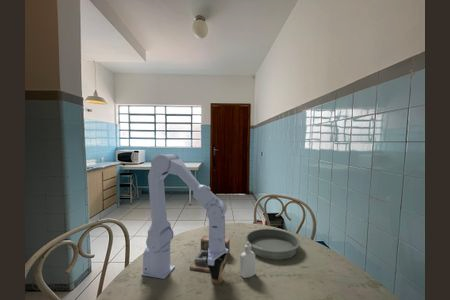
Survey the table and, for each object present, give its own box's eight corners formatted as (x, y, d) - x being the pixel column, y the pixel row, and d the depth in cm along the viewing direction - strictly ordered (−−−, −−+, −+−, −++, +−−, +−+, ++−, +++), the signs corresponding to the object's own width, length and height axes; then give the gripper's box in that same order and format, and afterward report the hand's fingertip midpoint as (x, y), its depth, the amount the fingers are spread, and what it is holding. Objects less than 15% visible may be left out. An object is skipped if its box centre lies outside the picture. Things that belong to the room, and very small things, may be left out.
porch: (189, 269, 81) (189, 252, 81) (203, 249, 96) (203, 235, 96) (219, 273, 78) (219, 256, 78) (229, 253, 94) (229, 238, 93)
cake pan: (254, 233, 115) (254, 225, 115) (302, 242, 105) (302, 233, 105) (237, 254, 93) (237, 243, 93) (296, 268, 82) (296, 256, 82)
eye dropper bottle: (239, 271, 80) (239, 239, 80) (254, 271, 80) (254, 239, 80) (240, 278, 75) (240, 244, 75) (256, 278, 75) (256, 244, 75)
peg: (209, 283, 73) (209, 262, 73) (213, 276, 77) (213, 257, 76) (220, 285, 72) (221, 264, 72) (223, 277, 76) (223, 258, 76)
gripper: (222, 247, 66) (222, 290, 66) (232, 229, 80) (232, 265, 80) (201, 244, 68) (201, 286, 68) (214, 227, 82) (214, 262, 82)
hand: (216, 275), depth 74 cm, fingers closed on peg, 4 cm apart
